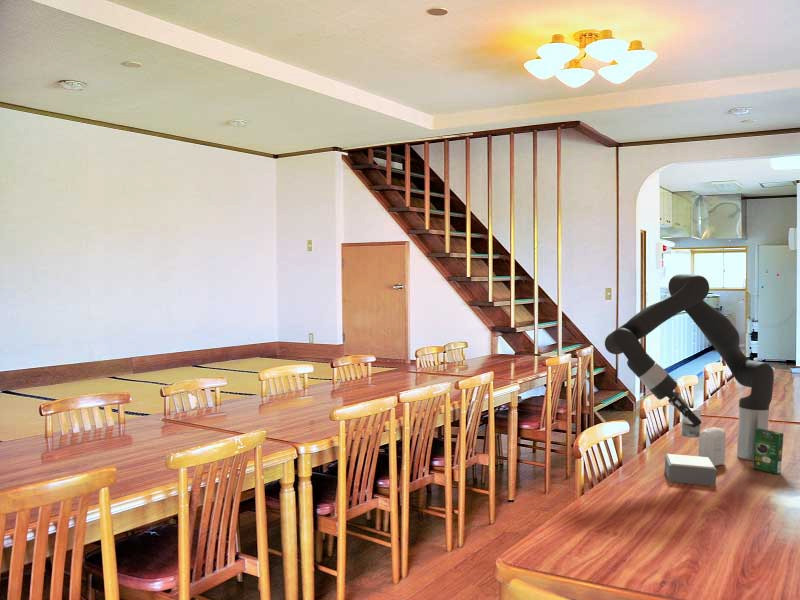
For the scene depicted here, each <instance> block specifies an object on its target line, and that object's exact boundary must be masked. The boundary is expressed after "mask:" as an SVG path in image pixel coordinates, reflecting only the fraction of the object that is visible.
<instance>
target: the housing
mask: <svg viewBox="0 0 800 600" xmlns="http://www.w3.org/2000/svg"><path fill="white" fill-rule="evenodd" d="M689 409H690V410H692V411H693V413H694V414H695V415H696V416H697V417H698V418H699V419H700V420H701V414H702V413H701V409H699V408H691V407H690V408H689ZM686 411H688V409H687V408H686V409H684V410H683V412H684V413H685V412H686ZM681 418H682V423H681V436H683V437H687V438H695V439H696V438H699V436H700V433H701V429H700V428H701V424H700V425H698V426H695V425H694V424H693V423H692V422H691V421H690V420H689V419H688V418H687V417H685V416H684V415H683V414H682V417H681Z"/></svg>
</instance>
